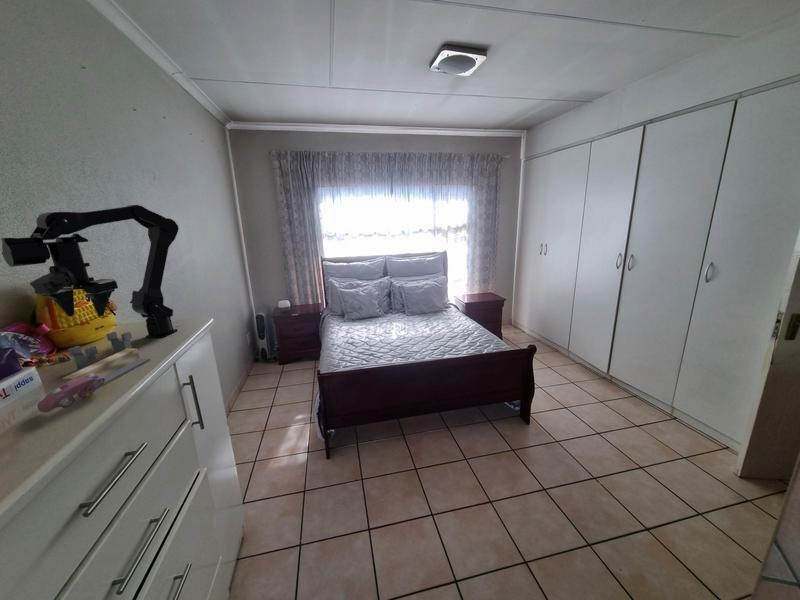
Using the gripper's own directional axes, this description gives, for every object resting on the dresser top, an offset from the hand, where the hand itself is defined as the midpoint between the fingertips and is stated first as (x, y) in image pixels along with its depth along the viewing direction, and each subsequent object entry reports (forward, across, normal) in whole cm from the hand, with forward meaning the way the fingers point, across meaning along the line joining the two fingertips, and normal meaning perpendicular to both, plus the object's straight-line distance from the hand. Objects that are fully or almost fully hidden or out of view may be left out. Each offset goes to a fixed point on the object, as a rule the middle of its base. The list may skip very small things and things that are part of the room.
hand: (86, 316), depth 88 cm
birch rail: (+12, +14, -11) cm, 21 cm away
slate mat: (+12, +14, -11) cm, 22 cm away
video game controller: (+12, +20, -23) cm, 33 cm away
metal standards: (+12, +6, -3) cm, 14 cm away
